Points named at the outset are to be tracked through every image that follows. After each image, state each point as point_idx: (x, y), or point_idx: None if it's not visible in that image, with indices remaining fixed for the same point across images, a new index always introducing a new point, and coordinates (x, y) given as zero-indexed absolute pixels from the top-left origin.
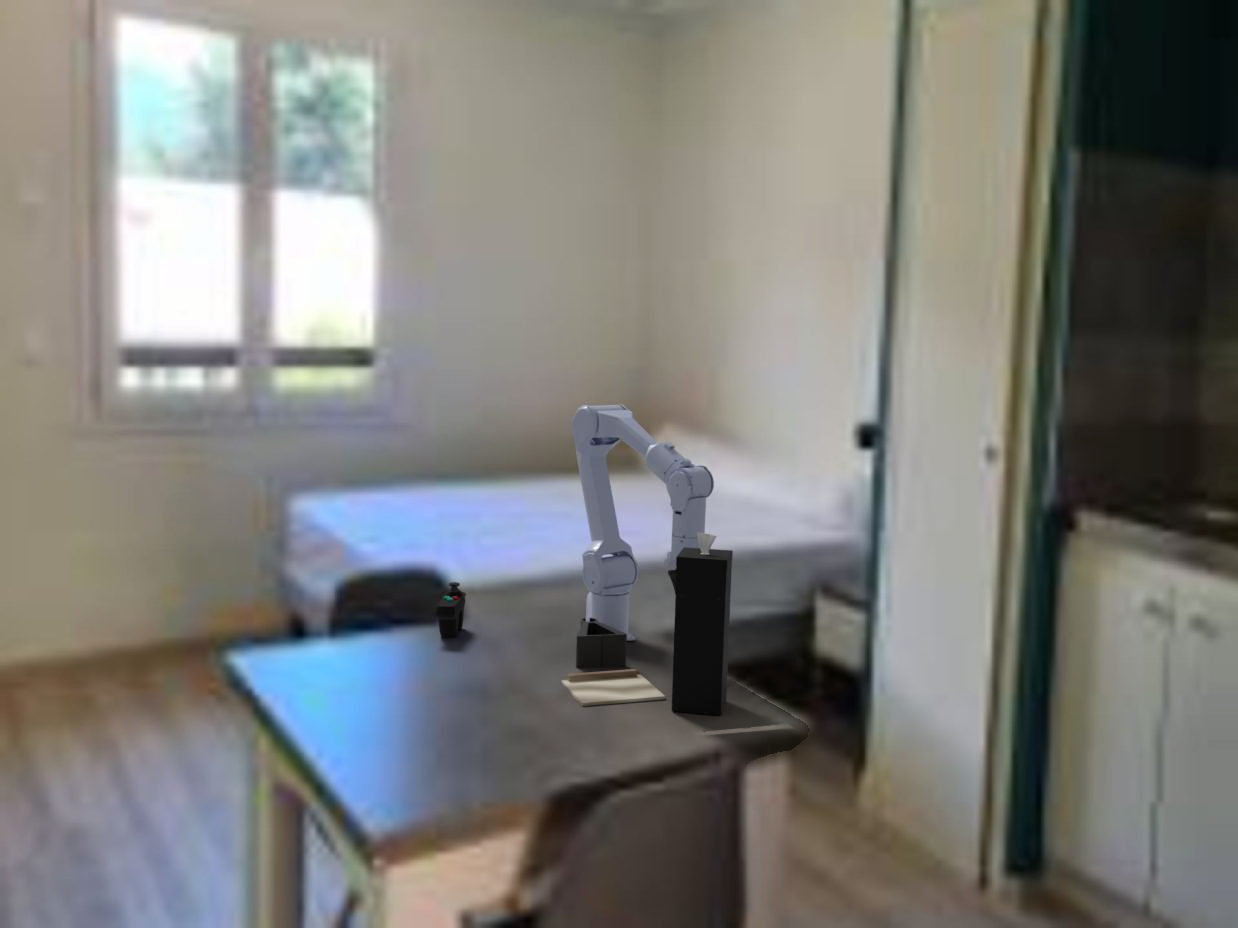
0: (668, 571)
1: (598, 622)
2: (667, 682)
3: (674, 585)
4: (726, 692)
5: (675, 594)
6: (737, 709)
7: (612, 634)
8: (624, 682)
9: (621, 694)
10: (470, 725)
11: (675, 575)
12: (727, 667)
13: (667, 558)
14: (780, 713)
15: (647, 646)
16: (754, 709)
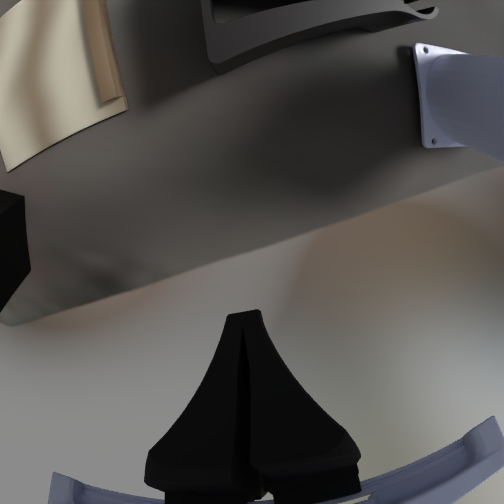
0: (322, 459)
1: (388, 6)
2: (96, 174)
3: (271, 395)
4: (23, 278)
5: (272, 354)
6: None
7: (210, 11)
8: (67, 77)
9: (7, 86)
10: None
11: (161, 474)
12: (2, 307)
13: (496, 433)
14: (22, 320)
15: (396, 167)
16: (20, 297)
